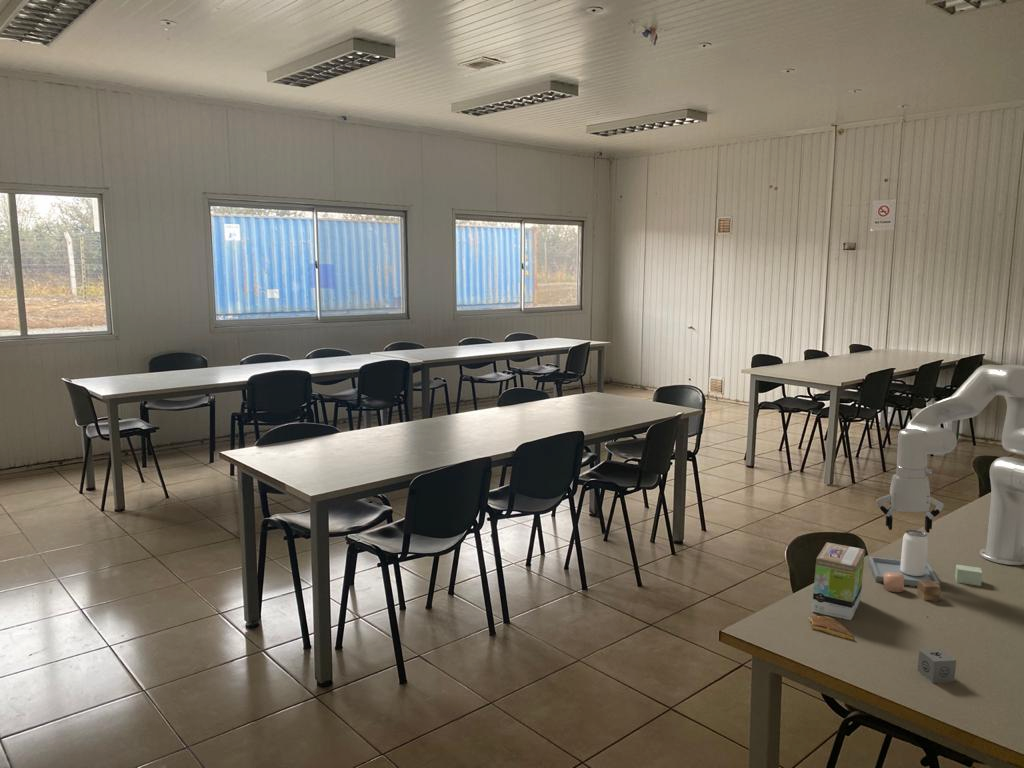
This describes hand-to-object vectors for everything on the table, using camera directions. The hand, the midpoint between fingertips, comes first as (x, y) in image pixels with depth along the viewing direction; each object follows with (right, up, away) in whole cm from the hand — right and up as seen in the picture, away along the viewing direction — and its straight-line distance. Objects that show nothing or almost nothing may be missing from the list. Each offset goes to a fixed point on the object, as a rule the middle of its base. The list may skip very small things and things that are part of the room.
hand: (908, 529), depth 220 cm
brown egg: (-8, -15, -8) cm, 19 cm away
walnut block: (-2, -16, -14) cm, 21 cm away
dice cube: (-22, -22, -54) cm, 63 cm away
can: (+2, -13, +2) cm, 13 cm away
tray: (-1, -14, +2) cm, 14 cm away
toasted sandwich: (-35, -19, -32) cm, 51 cm away
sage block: (+16, -14, -3) cm, 21 cm away
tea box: (-29, -17, -19) cm, 39 cm away
